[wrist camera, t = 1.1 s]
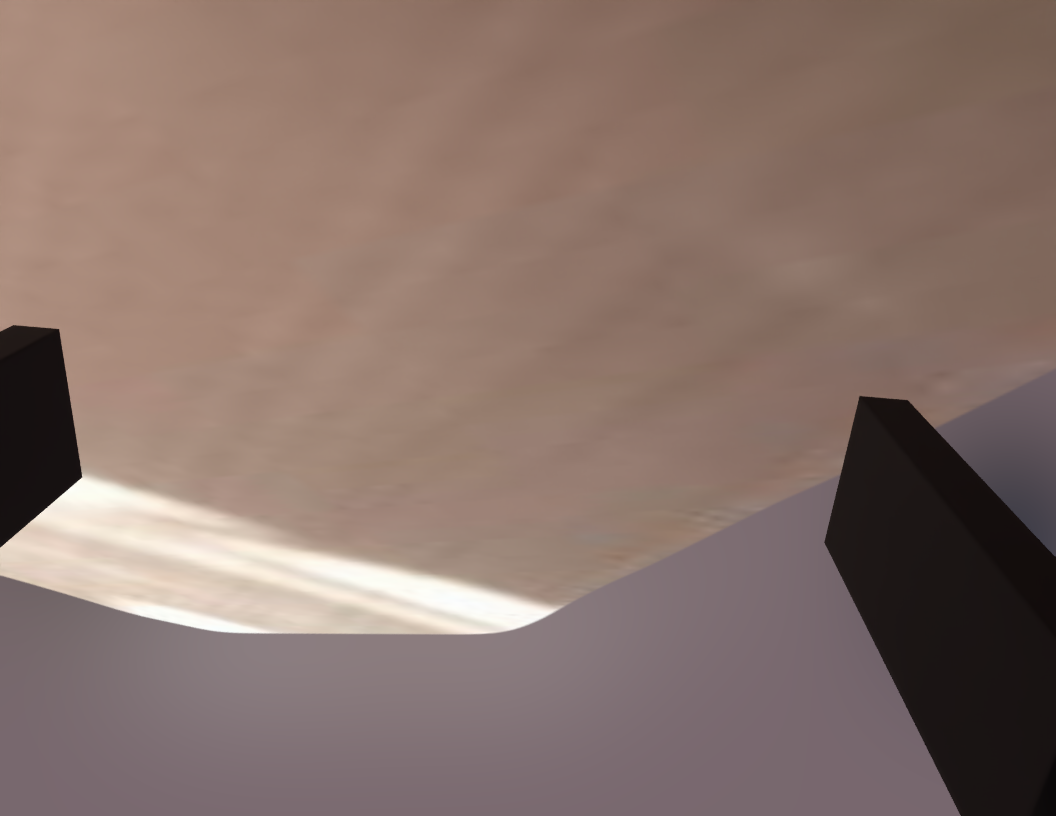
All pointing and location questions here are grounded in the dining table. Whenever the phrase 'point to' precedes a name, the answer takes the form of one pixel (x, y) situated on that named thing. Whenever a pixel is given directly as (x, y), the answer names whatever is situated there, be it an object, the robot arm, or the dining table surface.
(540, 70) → the dining table surface
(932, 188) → the dining table surface
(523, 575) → the dining table surface
